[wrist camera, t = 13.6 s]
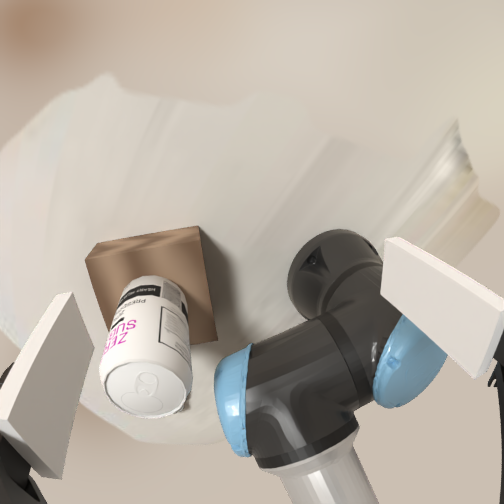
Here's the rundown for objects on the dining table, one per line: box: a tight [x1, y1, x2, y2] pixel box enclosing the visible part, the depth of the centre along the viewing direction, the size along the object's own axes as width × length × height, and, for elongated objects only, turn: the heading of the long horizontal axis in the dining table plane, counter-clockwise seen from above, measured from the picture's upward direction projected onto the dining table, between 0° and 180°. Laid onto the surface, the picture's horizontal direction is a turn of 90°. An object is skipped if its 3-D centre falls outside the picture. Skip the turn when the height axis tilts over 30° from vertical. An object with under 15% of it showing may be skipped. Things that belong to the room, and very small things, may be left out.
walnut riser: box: [85, 226, 218, 345], centre depth 39 cm, size 14×14×6 cm
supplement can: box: [99, 275, 193, 419], centre depth 29 cm, size 8×8×15 cm
